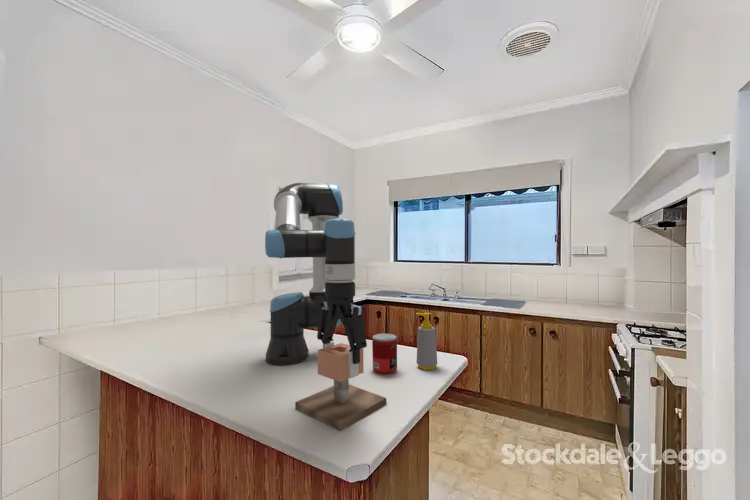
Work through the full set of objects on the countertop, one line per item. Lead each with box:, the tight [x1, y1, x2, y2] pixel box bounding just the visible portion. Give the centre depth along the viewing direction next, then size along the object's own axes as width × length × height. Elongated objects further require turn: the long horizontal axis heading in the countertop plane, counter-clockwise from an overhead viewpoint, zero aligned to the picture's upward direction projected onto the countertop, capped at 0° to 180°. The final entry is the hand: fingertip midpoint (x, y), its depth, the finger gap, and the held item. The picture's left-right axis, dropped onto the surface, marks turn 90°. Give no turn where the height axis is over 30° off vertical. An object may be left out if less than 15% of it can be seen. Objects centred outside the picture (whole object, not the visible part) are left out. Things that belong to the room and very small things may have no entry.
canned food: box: [371, 333, 398, 375], centre depth 106 cm, size 8×8×11 cm
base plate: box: [294, 379, 387, 431], centre depth 82 cm, size 16×16×8 cm
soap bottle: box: [415, 312, 438, 371], centre depth 108 cm, size 7×7×18 cm
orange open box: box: [317, 342, 364, 382], centre depth 81 cm, size 8×8×6 cm
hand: (341, 372), depth 81 cm, fingers closed on orange open box, 8 cm apart
